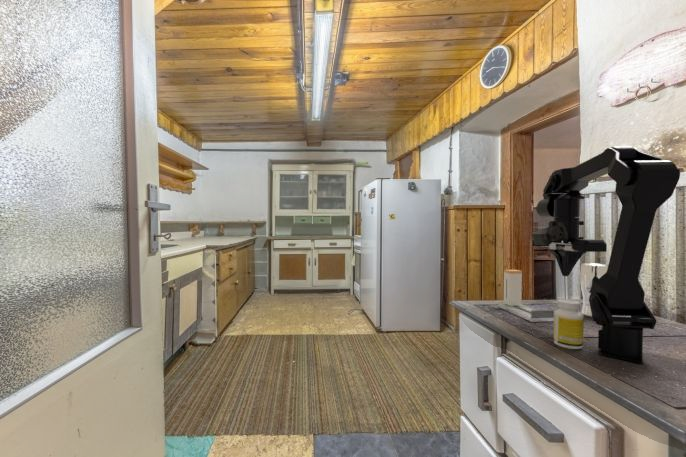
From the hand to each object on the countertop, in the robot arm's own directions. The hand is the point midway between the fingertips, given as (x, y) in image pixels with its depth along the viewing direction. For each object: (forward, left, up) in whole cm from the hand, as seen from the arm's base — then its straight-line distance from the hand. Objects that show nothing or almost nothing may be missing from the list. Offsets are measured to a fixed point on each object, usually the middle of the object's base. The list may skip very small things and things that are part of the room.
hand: (565, 276), depth 86 cm
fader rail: (+10, -4, -13) cm, 17 cm away
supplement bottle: (-3, +17, -13) cm, 22 cm away
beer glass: (-5, -17, -13) cm, 22 cm away
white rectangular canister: (+15, -8, -12) cm, 21 cm away
